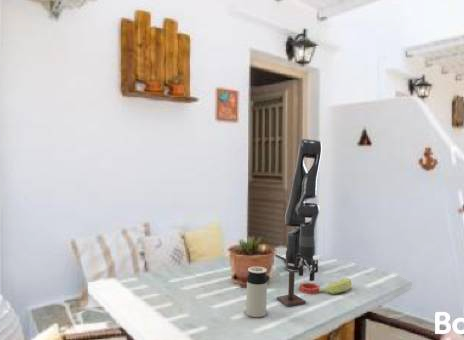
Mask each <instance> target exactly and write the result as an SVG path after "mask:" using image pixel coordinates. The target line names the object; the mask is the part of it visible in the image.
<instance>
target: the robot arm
mask: <svg viewBox="0 0 464 340" xmlns="http://www.w3.org/2000/svg"><path fill="white" fill-rule="evenodd" d="M322 152H323V145H322V142H321V141H320V140H317V139H309V138H302V139H301V140H300V142H299V144H298V151H297V158H296V166H295V170H294V173H293V174H294V175H293V179H292V184H291V190H290V195H289V200H288V203H287V207H286V211H285V215H284V224H285V225H286V227H291V228H292V227H296V228H295V229H293V230H291V231H289V232H288V233H287V234H286V235H287V236H286V251H285V257H283V256H281V255H278V254H276V256H275V257H277V258H279V259H281V260H283V261H284V263H285V269H286V270H287V271H288V272H289V271H294V272H295V273H296V272H297V273H298V277H303V276H304V267H306V268H307V270H308V272H309V282H315V276H316V273H318V272H319V260H318V259H315V258H314V256H315V255H316V225H317V220H318V217H319V216H320V215H319V214H320V211H321V209H320V206H319V204H318V203H315V202H307V201H308V200H313V199H315V198H317V188H318V176H319V171H320V165H321V158H322ZM306 158H307V159H313V161H312V165H311V167H310V168H309V170H307V168H306V164H305V159H306ZM307 219H310V220H309V221H307Z"/></svg>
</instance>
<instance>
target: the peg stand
mask: <svg viewBox="0 0 464 340" xmlns="http://www.w3.org/2000/svg"><path fill="white" fill-rule="evenodd" d="M295 274H296V272H294V271H289V270H288V292H287V293H288V294H285V295H279V296H276V300H277V301H278V302H280V303H281V304H282V305H284V306H286V307H287V308H289V307H295V306H300V305H305V304H306V302H307V301H306V300H305V299H303V298H301V297H300V296H298V295H297V294H295Z"/></svg>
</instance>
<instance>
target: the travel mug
mask: <svg viewBox="0 0 464 340" xmlns="http://www.w3.org/2000/svg"><path fill="white" fill-rule="evenodd" d="M247 271H248V274H247V276H246V302H245V303H246V304H245V305H246V307H245V308H246V309H245V313H246V315H247V316H249V317H251V318H263V317H264V316H266V315H267V299H268V298H267V297H268V295H267V294H268V276H267V271H268V269H267V268H265V267H263V266H250V267H248V268H247Z"/></svg>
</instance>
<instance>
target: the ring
mask: <svg viewBox="0 0 464 340" xmlns="http://www.w3.org/2000/svg"><path fill="white" fill-rule="evenodd" d="M319 289H320V285H318V284H316V283H312V282H303V283H301V284H300V285H299V291H300V292H302V293H304V294H310V295H314V294H318V293H320V292H319Z"/></svg>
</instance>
